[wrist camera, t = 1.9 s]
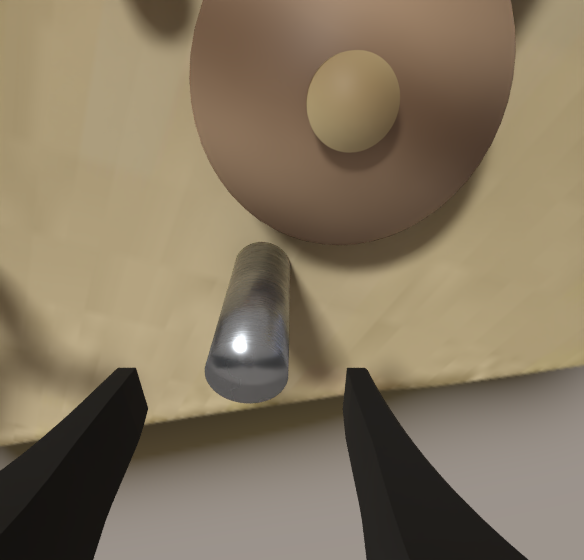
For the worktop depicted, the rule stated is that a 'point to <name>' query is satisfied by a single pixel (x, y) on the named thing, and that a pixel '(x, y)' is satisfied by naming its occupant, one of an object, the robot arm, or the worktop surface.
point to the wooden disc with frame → (349, 107)
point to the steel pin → (253, 328)
